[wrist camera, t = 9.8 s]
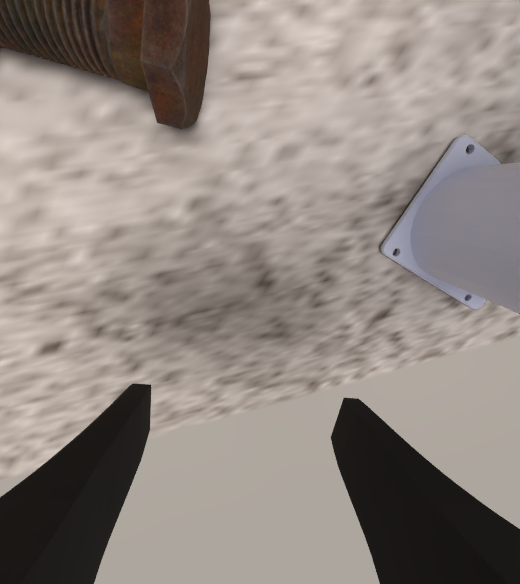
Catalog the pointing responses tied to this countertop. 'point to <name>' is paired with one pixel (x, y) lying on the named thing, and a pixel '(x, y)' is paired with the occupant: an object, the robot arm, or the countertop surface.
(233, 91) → the countertop surface
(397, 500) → the robot arm
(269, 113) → the countertop surface
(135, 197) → the countertop surface
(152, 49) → the bolt
